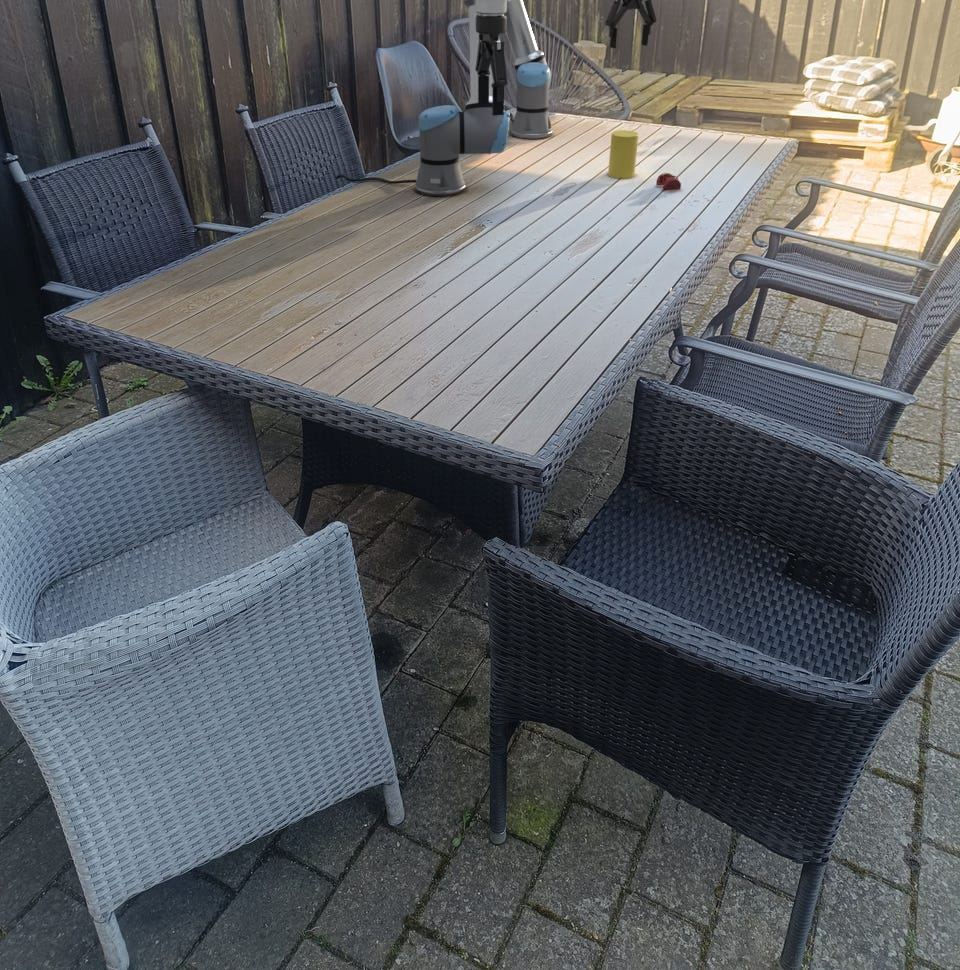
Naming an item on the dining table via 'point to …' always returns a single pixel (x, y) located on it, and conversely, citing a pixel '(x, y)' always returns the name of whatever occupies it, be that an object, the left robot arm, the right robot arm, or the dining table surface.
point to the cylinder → (623, 154)
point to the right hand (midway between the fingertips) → (628, 46)
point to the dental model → (668, 182)
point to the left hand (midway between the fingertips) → (490, 109)
